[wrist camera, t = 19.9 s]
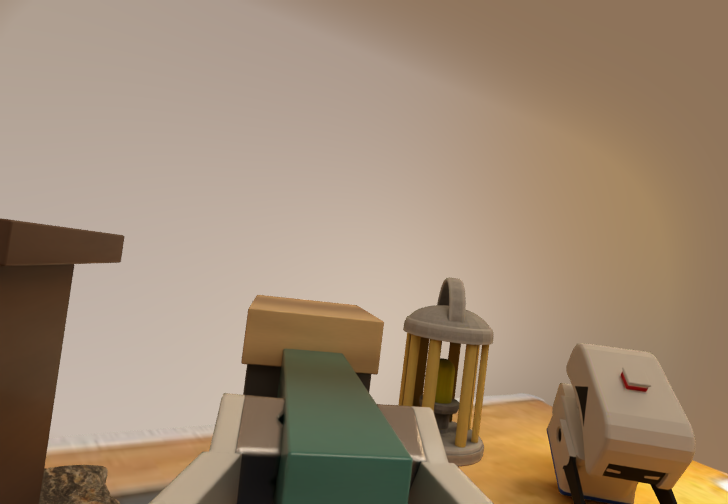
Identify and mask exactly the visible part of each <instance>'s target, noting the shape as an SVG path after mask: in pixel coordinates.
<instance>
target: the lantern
mask: <svg viewBox="0 0 728 504" xmlns="http://www.w3.org/2000/svg"><path fill="white" fill-rule="evenodd" d="M403 330H404V331H405V332H407V340H406V348H405V356H404V364H403V373H402V381H401V390H400V398H399V406H410V407H412V406H414V407H430V408H431V409H432V410H433V412H434V416H435V419H436V422H437V426H438V429H439V432H440V436H441V439H442V442H443V446H444V449H445V453H446V456H447V459H448V463H454V464H455V465H456V466H462V465H471V464H474V463H476V462H478V461H480V460H481V458H482V457H483V452H484V445H483V442H482V440H481V438H480V437H479V429H480V420H481V412H482V403H483V394H484V385H485V376H486V368H487V359H488V350H489V344H492V343H493V331H492V329H491V328H490V327H489V325H488V324H487V323H486V322H485V321H484V320H483V319H482V318H480V317H479V316H478V315H476V314H474V313H472V312H470V311H468V310H465V289H464V284H463V282H462V281H461V280H460V279H456V278H446V279H445V280H444V282H443V285H442V287H441V291H440V294H439V299H438V304H437V305H436V306H428V307H424V308H421V309H418V310H416V311H414V312H413V313H412V314H411V315H410V316H407V318H406V320H405V323H404V329H403ZM429 339H430V343H429ZM442 341H446V342H450V348H449V356H448V360H447V359H440V353H441V345H442ZM461 344H466V352H465V361H464V369H463V378H462V387H461V395H460V403H459V402H458V401H457V400H455V399H454V398H455V389H456V381H457V371H458V363H459V355H460V347H461ZM480 345H482V352H481V360H480V369H479V377H478V386H477V394H476V403H475V412H474V420H473V429H472V430H471V429H470V425H471V417H472V408H473V399H474V390H475V381H476V373H477V364H478V355H479V346H480ZM428 346H429V350H428ZM427 354H428V359H427ZM426 362H427V367H426ZM425 371H426V375H425ZM424 379H425V384H424ZM423 388H424V392H423ZM458 409H459V412H458V421H457V423H456V422H453V421H452V415H453V414H455V413H456V412H457V411H458Z"/></svg>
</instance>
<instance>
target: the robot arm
mask: <svg viewBox="0 0 728 504" xmlns="http://www.w3.org/2000/svg"><path fill="white" fill-rule="evenodd" d="M377 406H378V407H379V409H380V410H381V412H382V413H383V415H384V416H385V418H386V419H387V421H388V422H389V424H390V425H391V427H392V428H393V430H394V431H395V433H396V434H397V436H398V437H399V439H400V440H401V442H402V444H403V445H404V447H405V448H406V450H407V451H408V453H409V454H410V456H411V457H412V460H413V464H412V472H411V481H410V490H409V498H408V504H493V503H492V501H491V500H490V499H489V498H488V497H487V496H486V495H485V494H484V493H483V492H482V491H481V490H480V489H479V488H478V487H477V486H476V485H475V484H474V483H473V482H472V481H471V480H470V479H469V478H468V477H467V476H466V475H465V474H464V473H463V472H462V471H461V470H460V469H459V468H458V467H457V466H456V465H455V464H454V463H448V459H447V456H446V453H445V449H444V446H443V442H442V439H441V436H440V432H439V429H438V426H437V422H436V419H435V416H434V412H433V410H432V409H431V408H430V407H414V406H412V407H410V406H398V405H380V404H377ZM284 408H285V398H274V397H263V396H252V395H246V396H245V395H238V394H237V395H236V394H227V393H224V394H223V397H222V399H221V403H220V408H219V412H218V416H217V420H216V425H215V429H214V433H213V438H212V442H211V446H210V450H209V452H202V453H201V454H200V455H199V456H198V457H197V458H196V459H195V460H193V461H192V462H191V463H190V464H189V465H188V466H187V467H186V468H185V469H184V470H183V471H182V472H181V473H180V474H179V475H178V476H177V477H176V478H175V479H174V480H173V481H172V482H171V483H170V484H169V485H168V486H167V487H166V488H164V489H163V490H162V491H161V492H160V493H159V494H158V495H157V496H156V497H155V498H154V499H153V500H152V501H151V502H150V503H149V504H273V500H274V494H275V488H276V477H277V476H278V471H279V465H280V459H281V451H282V437H283V425H282V423H283V417H284Z"/></svg>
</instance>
